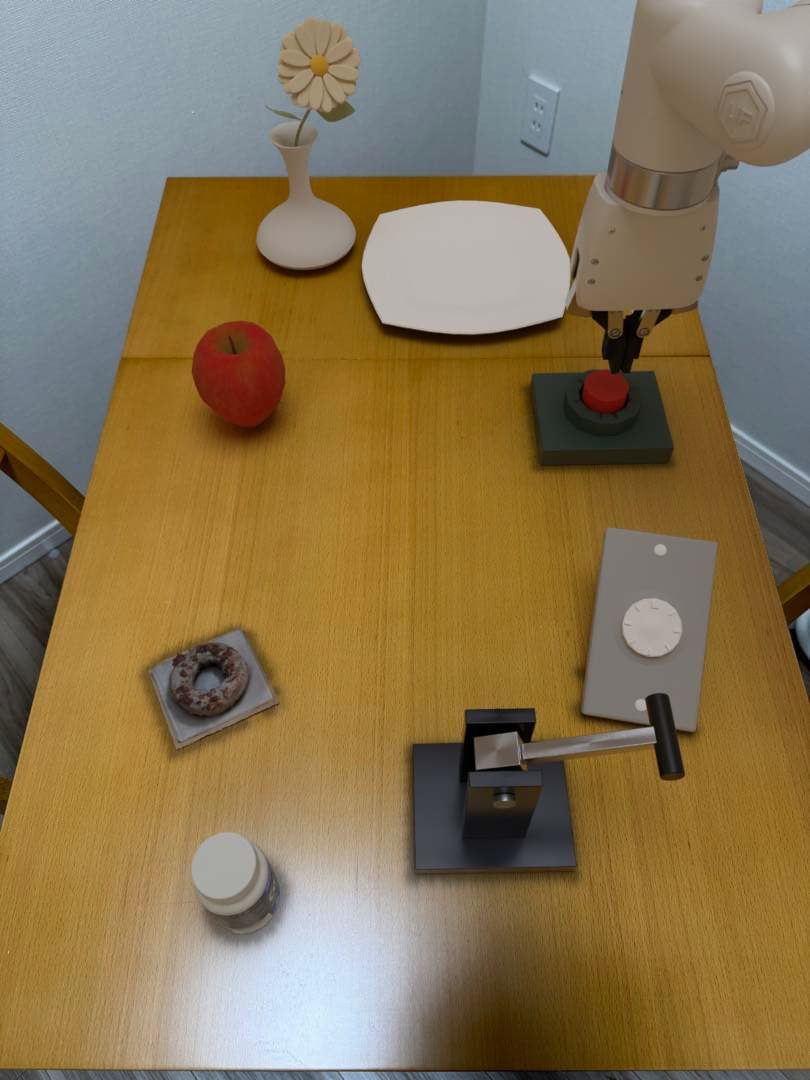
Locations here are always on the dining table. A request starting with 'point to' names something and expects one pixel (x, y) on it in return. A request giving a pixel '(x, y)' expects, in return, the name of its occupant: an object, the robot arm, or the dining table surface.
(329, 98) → the flower in vase
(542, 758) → the switch lever
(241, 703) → the donut
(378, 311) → the plate
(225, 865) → the pill bottle
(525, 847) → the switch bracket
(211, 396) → the apple
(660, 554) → the light switch
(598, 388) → the stop button
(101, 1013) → the dining table surface
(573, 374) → the block
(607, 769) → the dining table surface
